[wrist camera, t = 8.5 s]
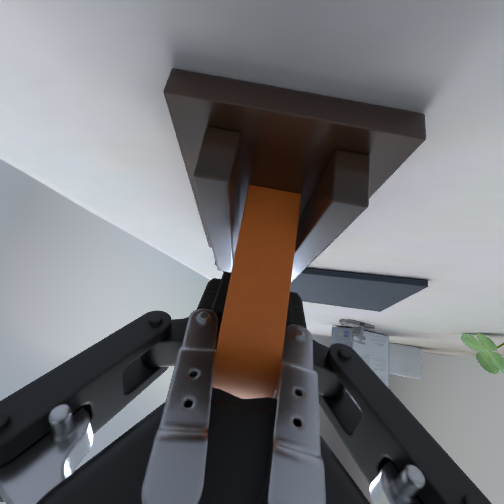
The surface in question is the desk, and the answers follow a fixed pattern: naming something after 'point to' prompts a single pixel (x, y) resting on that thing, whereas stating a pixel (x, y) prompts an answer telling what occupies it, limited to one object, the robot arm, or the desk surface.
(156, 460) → the robot arm
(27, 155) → the desk surface
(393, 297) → the felt mat
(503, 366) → the green clover
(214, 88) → the holder
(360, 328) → the strap clip
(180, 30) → the desk surface
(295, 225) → the orange curved block
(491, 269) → the desk surface
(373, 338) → the hard drive box
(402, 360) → the white paper roll
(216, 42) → the desk surface
